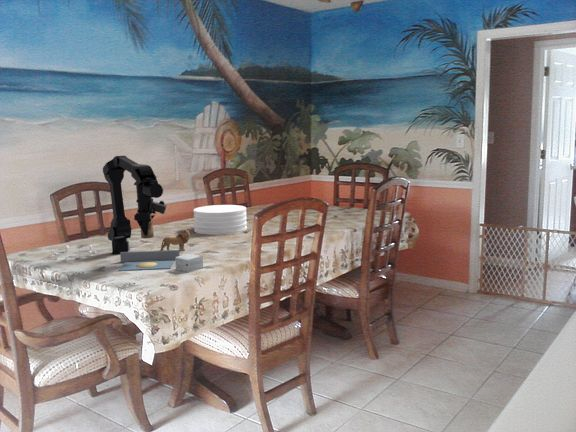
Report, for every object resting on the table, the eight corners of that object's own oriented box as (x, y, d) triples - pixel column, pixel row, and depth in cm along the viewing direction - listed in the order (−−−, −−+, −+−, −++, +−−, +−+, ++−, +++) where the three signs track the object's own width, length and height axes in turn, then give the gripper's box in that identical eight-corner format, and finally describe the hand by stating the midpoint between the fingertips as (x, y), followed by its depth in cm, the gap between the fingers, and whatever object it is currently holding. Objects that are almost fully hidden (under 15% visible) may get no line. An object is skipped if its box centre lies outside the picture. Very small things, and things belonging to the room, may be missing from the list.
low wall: (120, 262, 230) (120, 252, 230) (121, 261, 231) (120, 252, 231) (179, 259, 232) (178, 250, 232) (179, 259, 233) (179, 249, 233)
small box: (175, 269, 217) (174, 256, 216) (191, 265, 223) (190, 253, 222) (188, 272, 212) (187, 259, 211) (203, 268, 218) (203, 255, 217)
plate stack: (244, 234, 284) (243, 212, 282) (189, 235, 284) (188, 213, 283) (249, 224, 311) (248, 204, 309) (199, 225, 312) (198, 205, 310)
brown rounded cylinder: (140, 238, 226) (139, 224, 225) (142, 236, 231) (141, 222, 230) (152, 237, 227) (151, 223, 226) (154, 235, 231) (153, 221, 231)
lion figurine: (188, 247, 255) (187, 228, 254) (192, 249, 251) (191, 230, 249) (157, 252, 248) (156, 232, 246) (161, 254, 243) (159, 234, 242)
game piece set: (50, 253, 251) (49, 245, 251) (96, 249, 258) (96, 241, 258) (48, 263, 233) (47, 254, 233) (98, 258, 240) (97, 249, 240)
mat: (118, 271, 216) (118, 269, 216) (124, 263, 228) (124, 262, 228) (170, 268, 218) (170, 267, 218) (173, 261, 230) (173, 259, 230)
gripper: (161, 198, 218) (164, 237, 220) (166, 193, 236) (169, 229, 238) (132, 199, 217) (135, 238, 219) (140, 194, 235) (143, 230, 237)
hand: (147, 234), depth 229 cm, fingers closed on brown rounded cylinder, 5 cm apart
